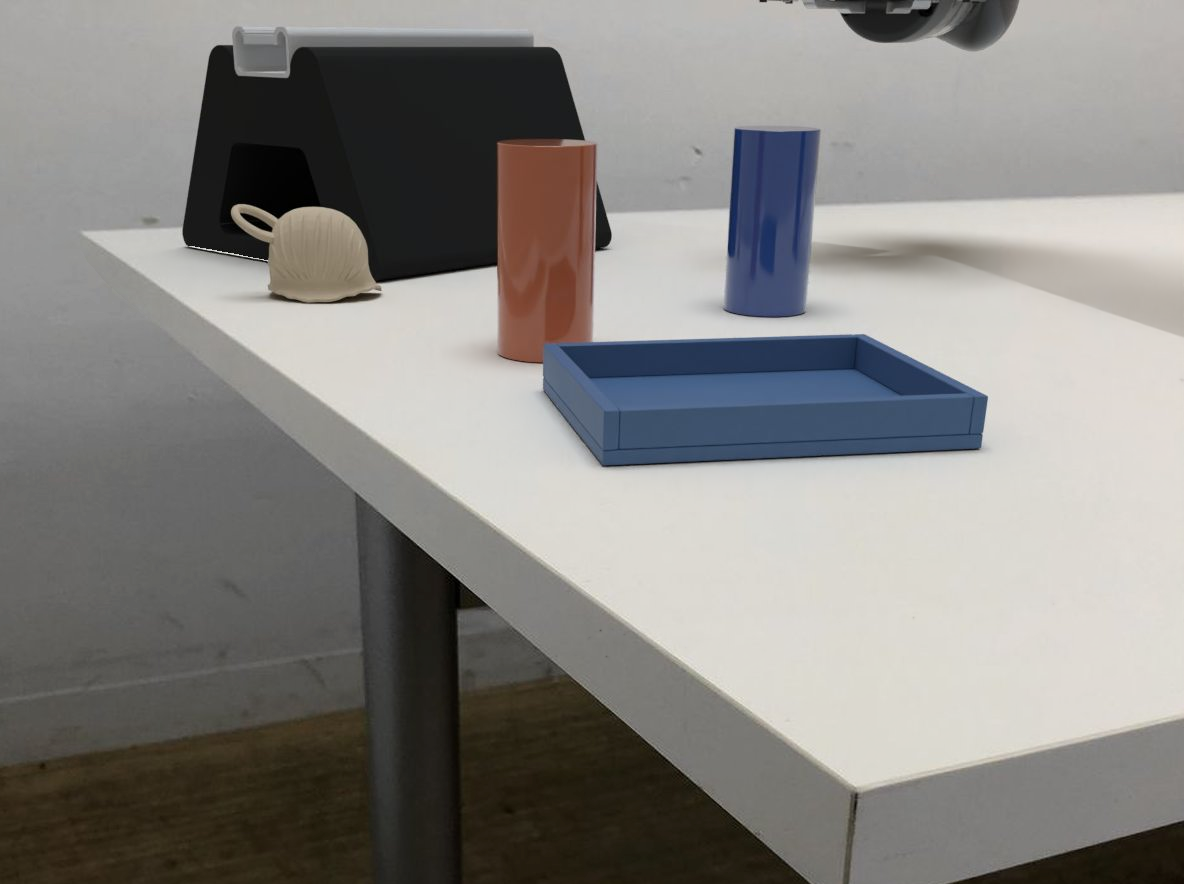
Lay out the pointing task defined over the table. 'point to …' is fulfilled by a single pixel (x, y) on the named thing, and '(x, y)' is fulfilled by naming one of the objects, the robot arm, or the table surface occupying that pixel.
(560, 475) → the table surface
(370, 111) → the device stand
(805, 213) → the blue tall cylinder
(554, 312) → the cylinder
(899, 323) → the table surface
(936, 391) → the blue tray
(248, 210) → the decorative ornament
